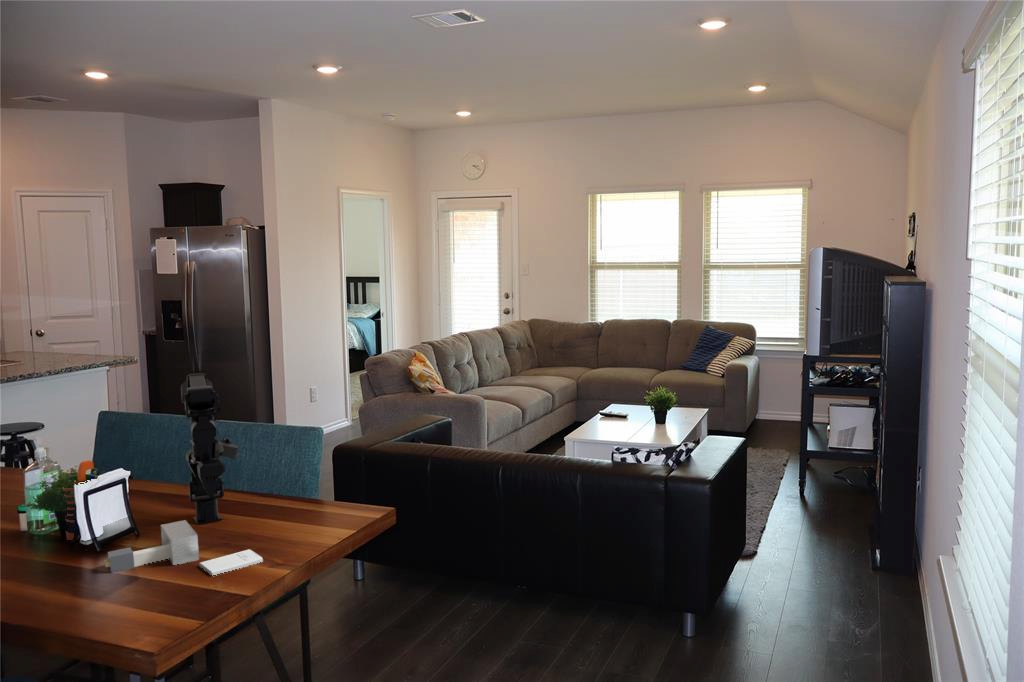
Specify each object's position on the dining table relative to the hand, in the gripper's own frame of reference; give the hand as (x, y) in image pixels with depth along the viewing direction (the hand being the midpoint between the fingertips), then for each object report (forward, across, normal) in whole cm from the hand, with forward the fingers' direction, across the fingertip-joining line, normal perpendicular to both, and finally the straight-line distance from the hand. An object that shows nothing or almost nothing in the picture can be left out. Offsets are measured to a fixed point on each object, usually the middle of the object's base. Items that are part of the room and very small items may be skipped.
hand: (207, 492), depth 213 cm
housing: (+12, -9, +9) cm, 18 cm away
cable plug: (+12, -9, +16) cm, 22 cm away
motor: (+12, +21, +28) cm, 37 cm away
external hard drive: (+12, -23, 0) cm, 26 cm away
